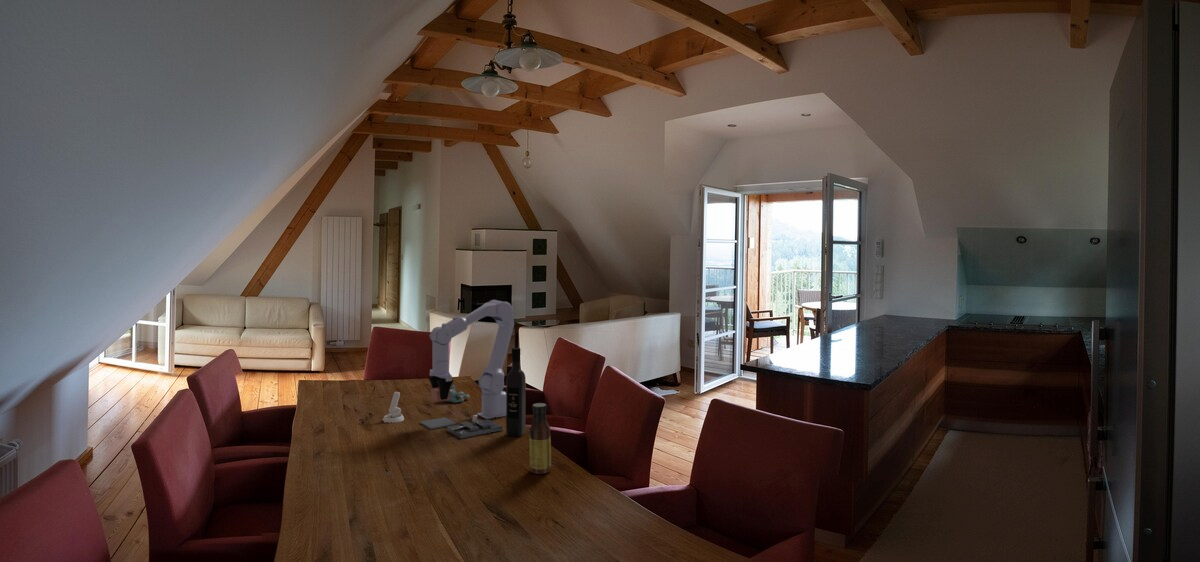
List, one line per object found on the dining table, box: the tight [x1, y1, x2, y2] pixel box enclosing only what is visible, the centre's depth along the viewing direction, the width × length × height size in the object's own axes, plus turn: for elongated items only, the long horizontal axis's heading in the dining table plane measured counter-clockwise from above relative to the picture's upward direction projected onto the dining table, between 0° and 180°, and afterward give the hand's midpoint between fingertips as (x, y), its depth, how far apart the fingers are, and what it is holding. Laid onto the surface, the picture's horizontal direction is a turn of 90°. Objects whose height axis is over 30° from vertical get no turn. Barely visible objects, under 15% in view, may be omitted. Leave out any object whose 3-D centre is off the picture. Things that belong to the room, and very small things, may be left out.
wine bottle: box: [505, 347, 526, 438], centre depth 222 cm, size 6×6×30 cm
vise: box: [446, 414, 504, 440], centre depth 226 cm, size 17×11×6 cm, turn 128°
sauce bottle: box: [528, 402, 552, 475], centre depth 187 cm, size 6×6×20 cm
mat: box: [419, 416, 458, 431], centre depth 234 cm, size 10×10×1 cm
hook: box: [382, 391, 405, 424], centre depth 241 cm, size 8×12×7 cm
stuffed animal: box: [445, 384, 471, 404], centre depth 268 cm, size 11×7×12 cm
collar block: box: [430, 387, 450, 403], centre depth 232 cm, size 5×5×4 cm
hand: (440, 397), depth 233 cm, fingers closed on collar block, 5 cm apart
